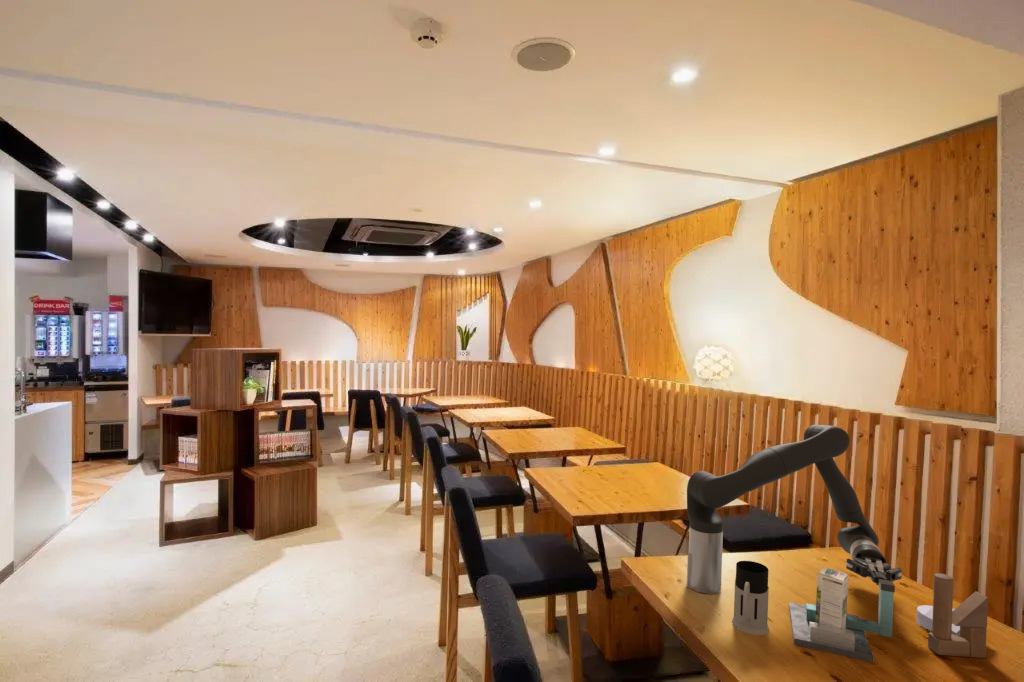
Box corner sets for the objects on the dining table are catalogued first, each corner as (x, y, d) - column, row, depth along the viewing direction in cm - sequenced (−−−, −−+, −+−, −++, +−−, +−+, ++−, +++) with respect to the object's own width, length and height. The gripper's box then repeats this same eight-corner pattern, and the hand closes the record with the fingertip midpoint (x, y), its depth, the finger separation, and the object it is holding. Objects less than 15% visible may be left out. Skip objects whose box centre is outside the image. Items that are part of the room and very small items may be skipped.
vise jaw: (806, 620, 138) (808, 570, 138) (805, 614, 141) (807, 566, 141) (893, 638, 130) (895, 586, 130) (890, 631, 134) (891, 580, 133)
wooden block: (986, 658, 126) (989, 581, 126) (938, 655, 127) (940, 579, 126) (973, 649, 130) (976, 574, 129) (927, 646, 130) (929, 572, 130)
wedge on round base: (987, 644, 132) (936, 617, 145) (988, 617, 132) (937, 592, 145) (955, 646, 131) (907, 618, 143) (956, 619, 131) (908, 593, 143)
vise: (794, 644, 129) (794, 625, 129) (788, 607, 148) (789, 590, 148) (873, 662, 123) (873, 642, 123) (857, 621, 141) (858, 604, 141)
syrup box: (819, 623, 137) (821, 565, 137) (846, 631, 133) (848, 573, 133) (814, 631, 133) (816, 572, 132) (842, 641, 129) (844, 580, 129)
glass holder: (771, 623, 139) (773, 565, 139) (763, 649, 127) (765, 585, 127) (735, 613, 144) (737, 556, 144) (724, 637, 132) (726, 576, 132)
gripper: (840, 539, 154) (850, 561, 138) (896, 548, 148) (913, 572, 132) (839, 565, 154) (848, 590, 138) (895, 575, 148) (911, 603, 132)
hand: (880, 581), depth 135 cm, fingers closed
